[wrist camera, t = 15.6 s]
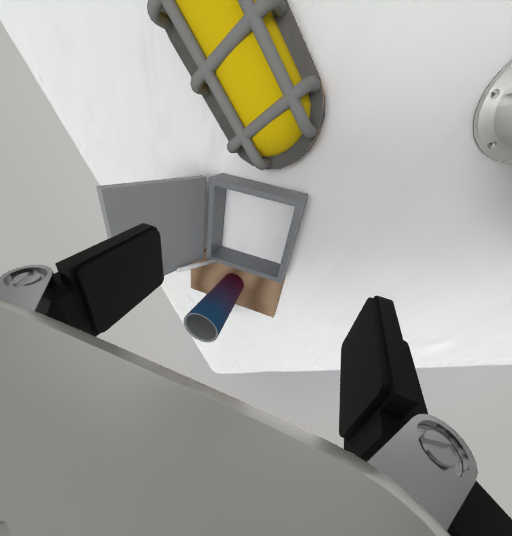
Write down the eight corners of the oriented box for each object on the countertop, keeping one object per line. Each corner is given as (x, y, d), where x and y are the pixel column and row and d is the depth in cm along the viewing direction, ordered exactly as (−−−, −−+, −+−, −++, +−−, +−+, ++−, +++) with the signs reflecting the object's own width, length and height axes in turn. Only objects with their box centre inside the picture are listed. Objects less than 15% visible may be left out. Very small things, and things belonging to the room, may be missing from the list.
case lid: (101, 189, 27) (96, 186, 28) (123, 292, 36) (119, 289, 37) (206, 177, 38) (201, 175, 39) (203, 258, 47) (199, 256, 48)
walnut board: (285, 274, 49) (284, 276, 48) (274, 314, 56) (273, 317, 55) (193, 245, 53) (190, 246, 52) (193, 285, 60) (190, 287, 59)
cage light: (187, -225, 19) (341, 131, 27) (228, -135, 26) (342, 130, 34) (105, -42, 27) (246, 193, 35) (153, -9, 33) (262, 182, 41)
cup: (225, 264, 52) (188, 306, 39) (252, 280, 51) (222, 327, 39) (216, 284, 56) (180, 329, 43) (241, 299, 55) (211, 348, 43)
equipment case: (307, 194, 40) (295, 215, 30) (286, 270, 48) (271, 306, 39) (210, 170, 43) (171, 182, 33) (207, 245, 52) (175, 272, 42)
